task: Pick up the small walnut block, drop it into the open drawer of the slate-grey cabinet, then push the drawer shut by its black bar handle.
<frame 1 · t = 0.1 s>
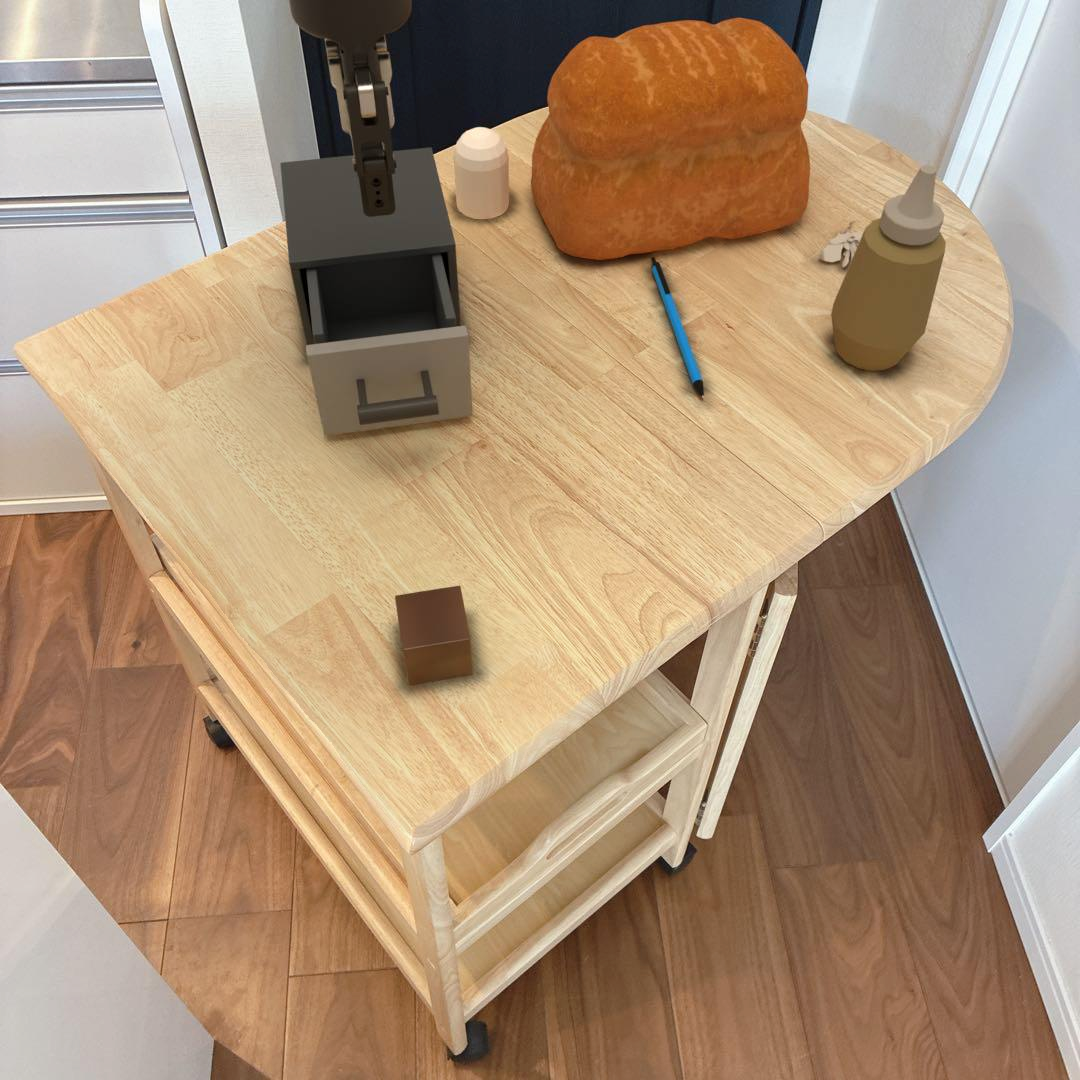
hand: (373, 178, 76), 20 cm above the table, tool pointing down, fingers open, 8 cm apart
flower: (857, 264, 102), on the table
drawer: (387, 349, 86), point 5 cm above the table, slide at 9.0 cm
white domed cylinder: (482, 205, 107), on the table
cabinet: (377, 299, 98), on the table
pen: (675, 329, 96), on the table
squeeze bottle: (867, 351, 94), on the table
bread: (664, 209, 107), on the table
block: (436, 652, 74), on the table
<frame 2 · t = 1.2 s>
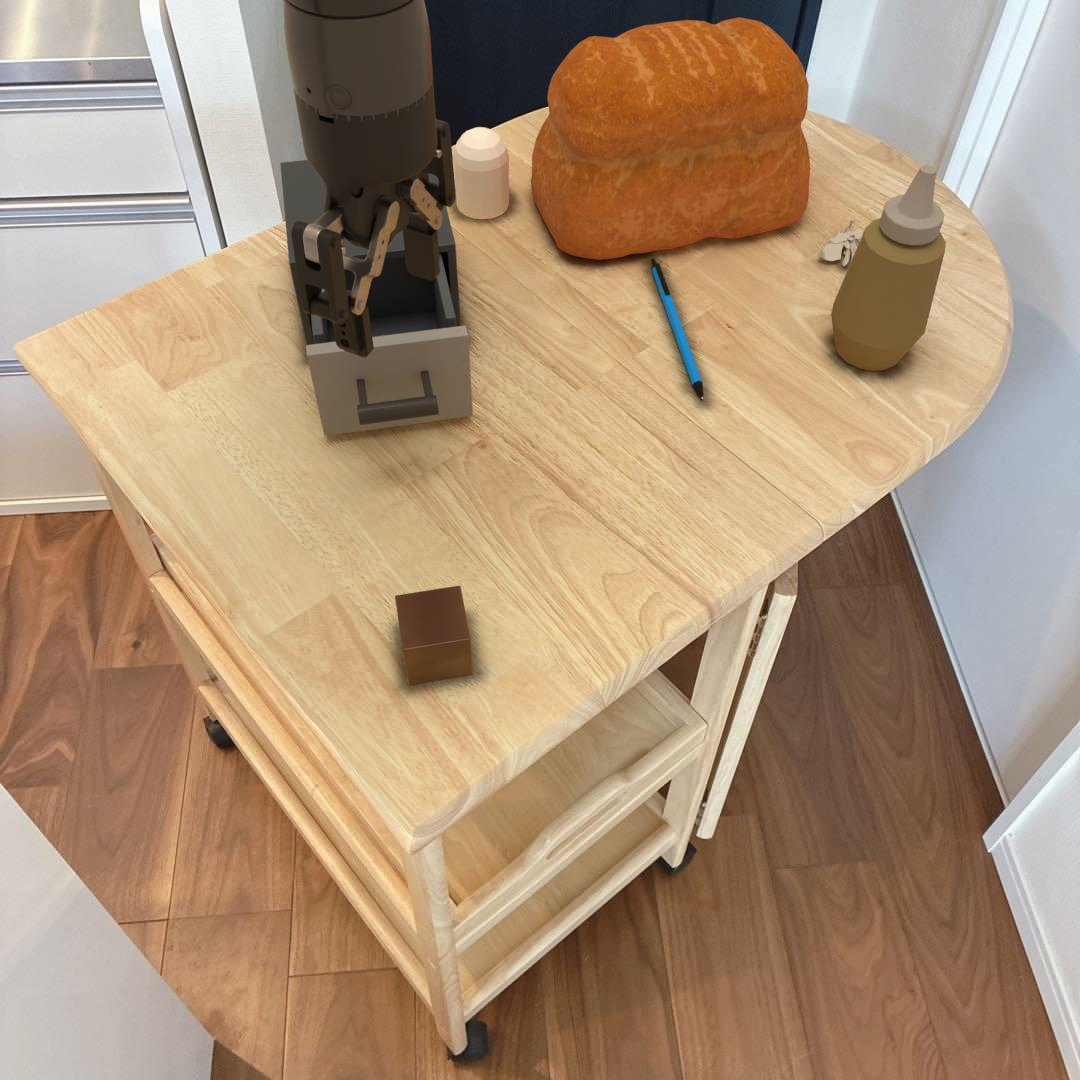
hand: (391, 311, 69), 18 cm above the table, tool pointing down, fingers open, 8 cm apart
nothing on the table moved.
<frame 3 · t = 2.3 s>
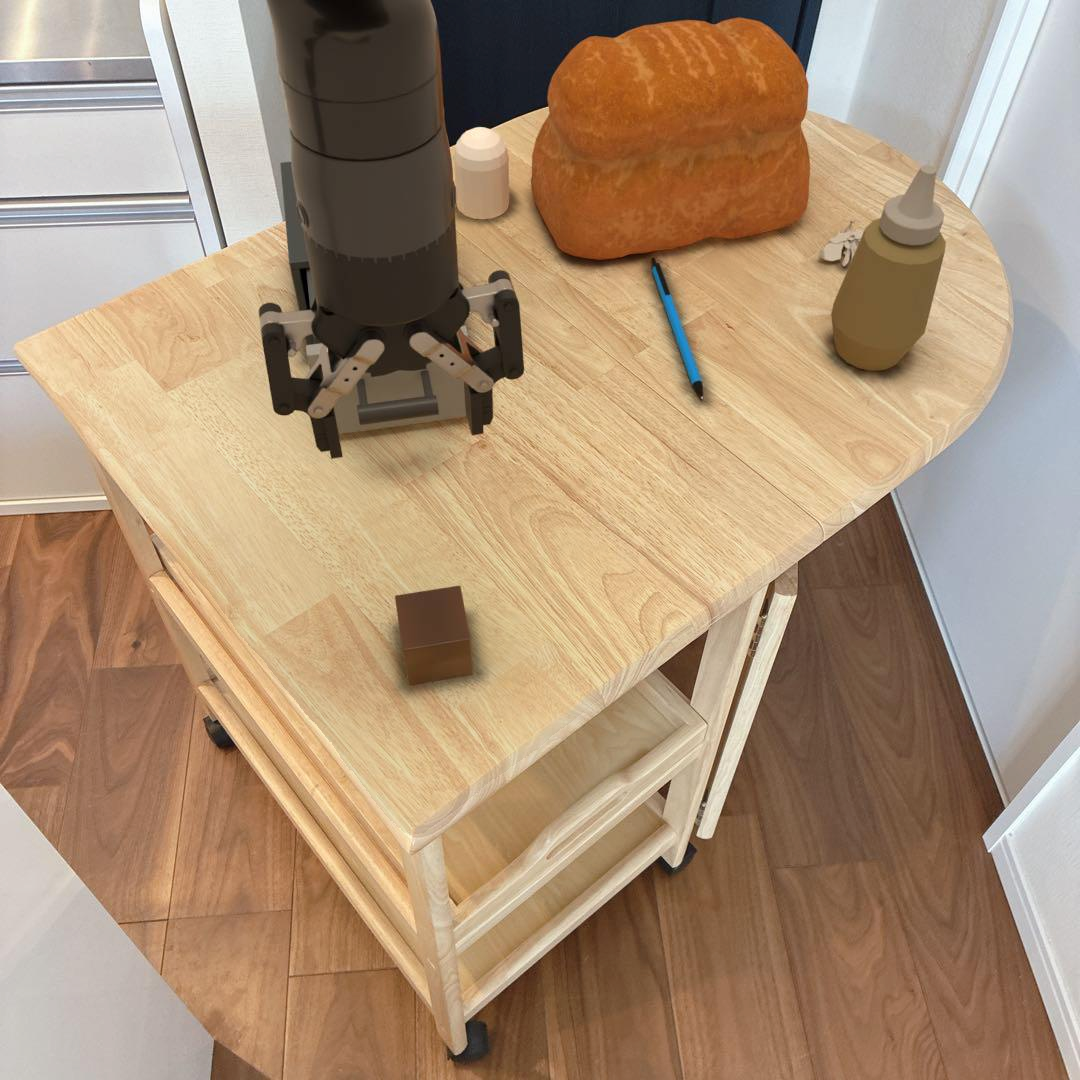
hand: (405, 436, 64), 16 cm above the table, tool pointing down, fingers open, 8 cm apart
nothing on the table moved.
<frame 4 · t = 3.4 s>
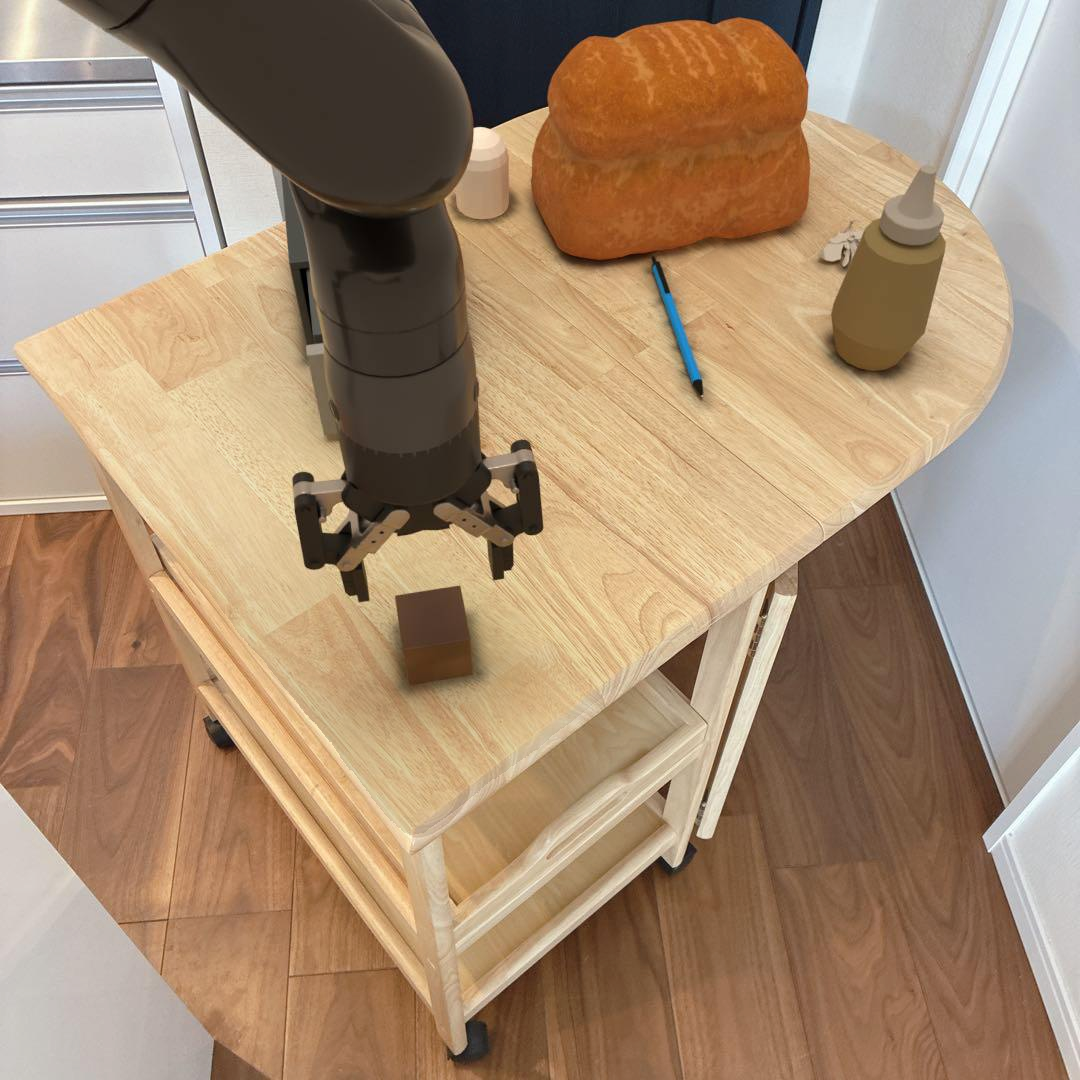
hand: (429, 579, 67), 9 cm above the table, tool pointing down, fingers open, 8 cm apart
nothing on the table moved.
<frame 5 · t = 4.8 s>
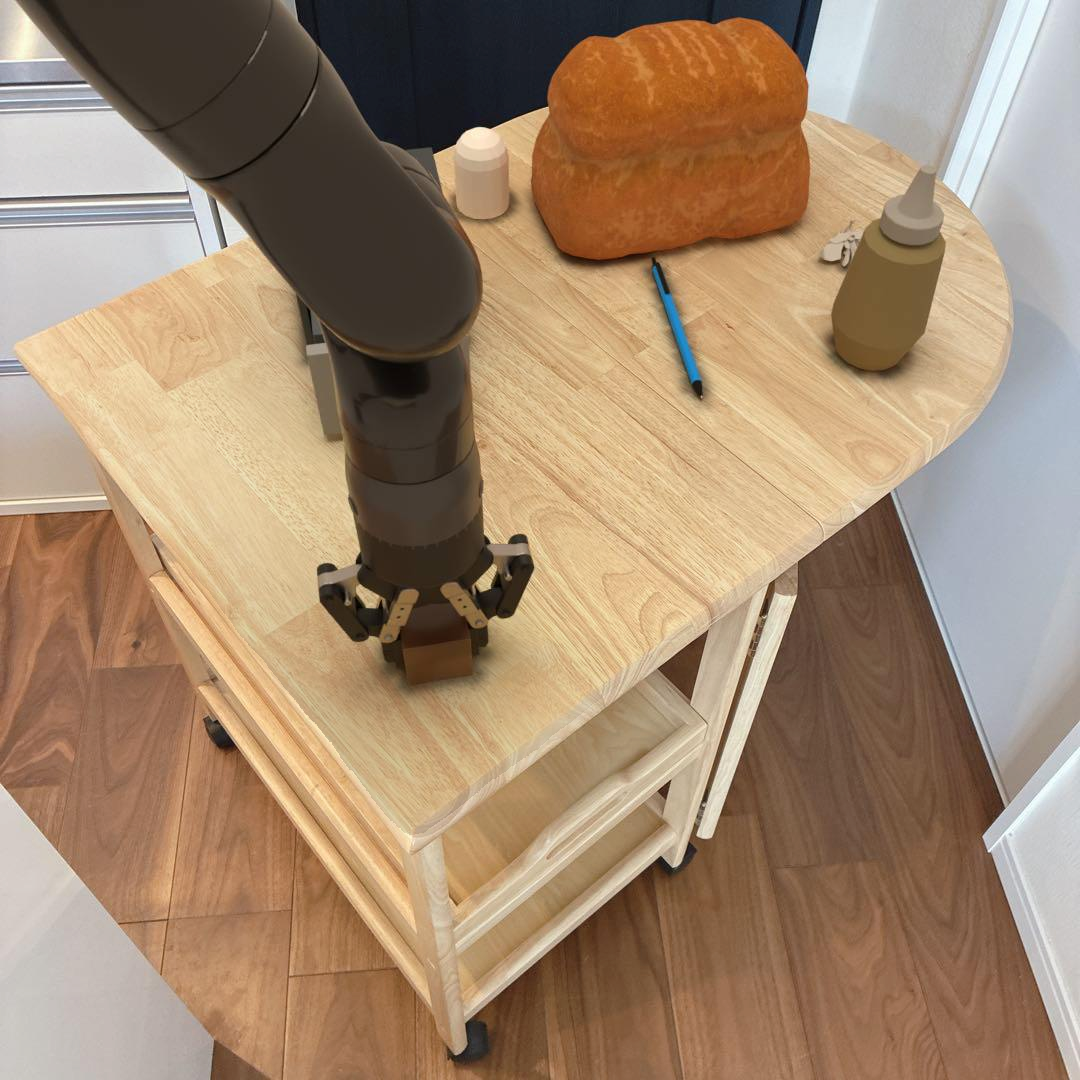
hand: (435, 650, 74), 0 cm above the table, tool pointing down, fingers closed on block, 4 cm apart
block: (436, 652, 74), on the table, touching gripper
everything else where it was.
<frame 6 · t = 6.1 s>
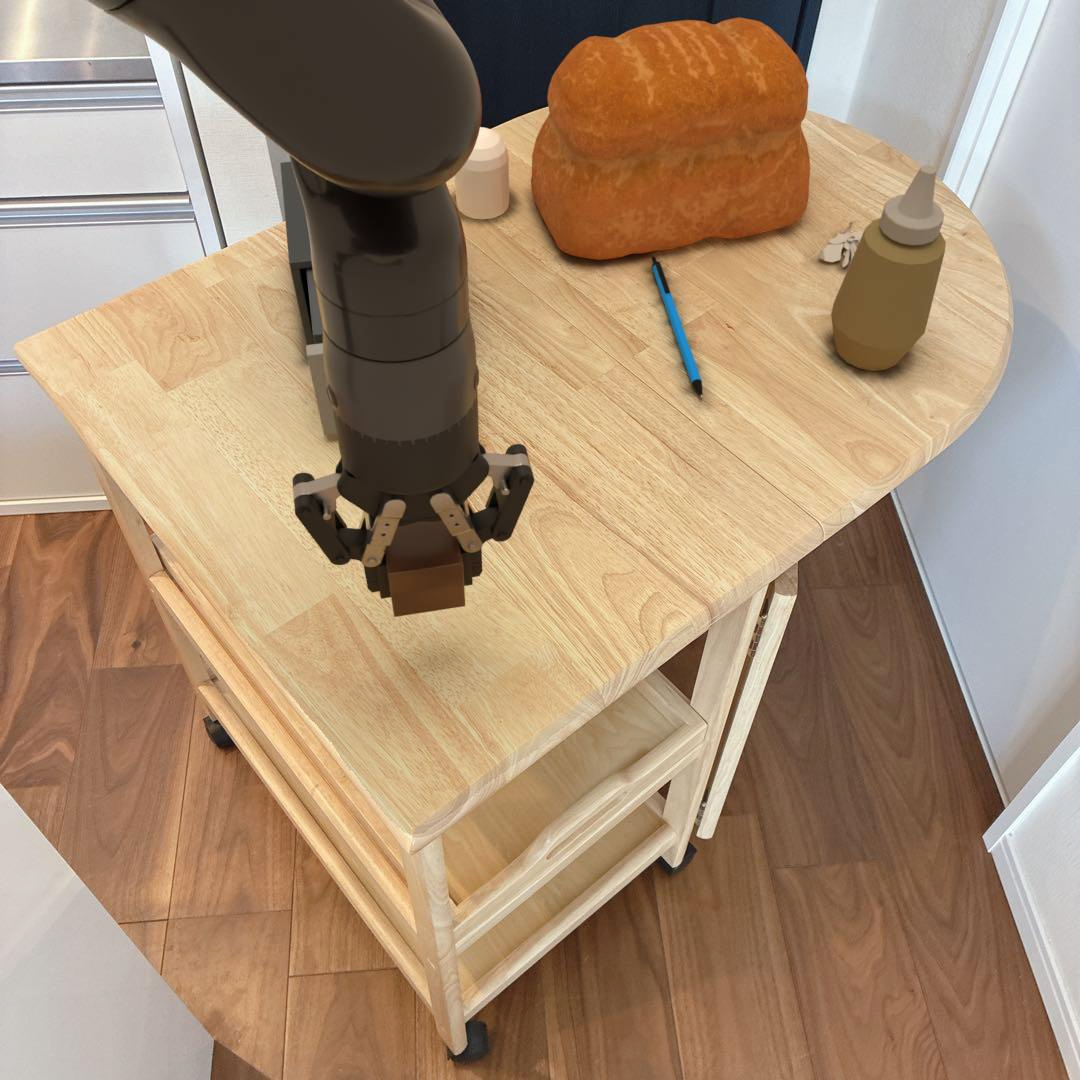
hand: (424, 580, 67), 9 cm above the table, tool pointing down, fingers closed on block, 4 cm apart
block: (425, 583, 67), point 8 cm above the table, touching gripper
everything else where it was.
when the fingers open (8 cm above the table, at t = 12.0 s): block drops 6 cm, resting on drawer.
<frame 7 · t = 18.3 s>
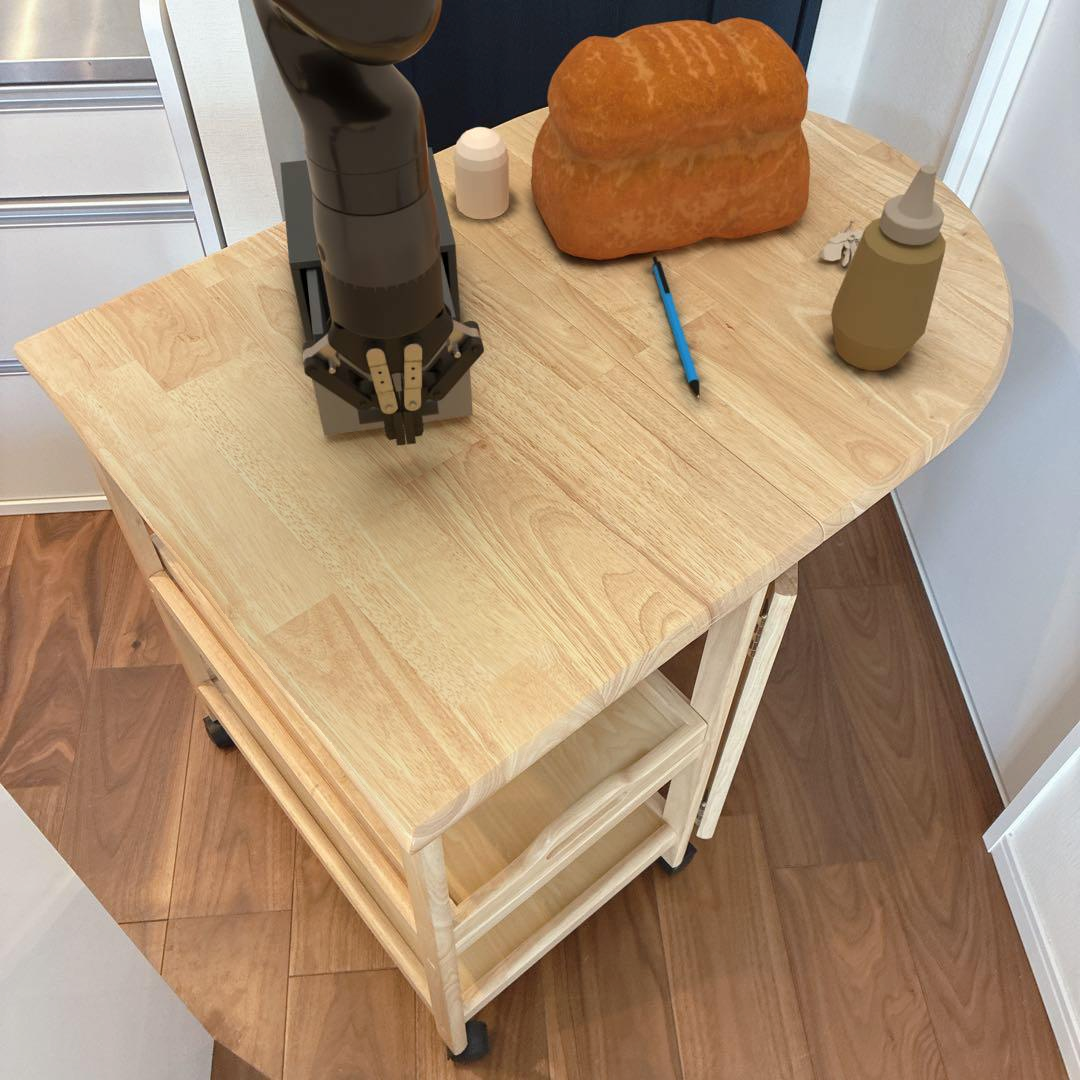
hand: (404, 436, 80), 5 cm above the table, tool pointing down, fingers closed
drawer: (387, 348, 86), point 5 cm above the table, slide at 8.9 cm, touching block, gripper
block: (390, 371, 89), point 2 cm above the table, touching drawer
everything else where it was.
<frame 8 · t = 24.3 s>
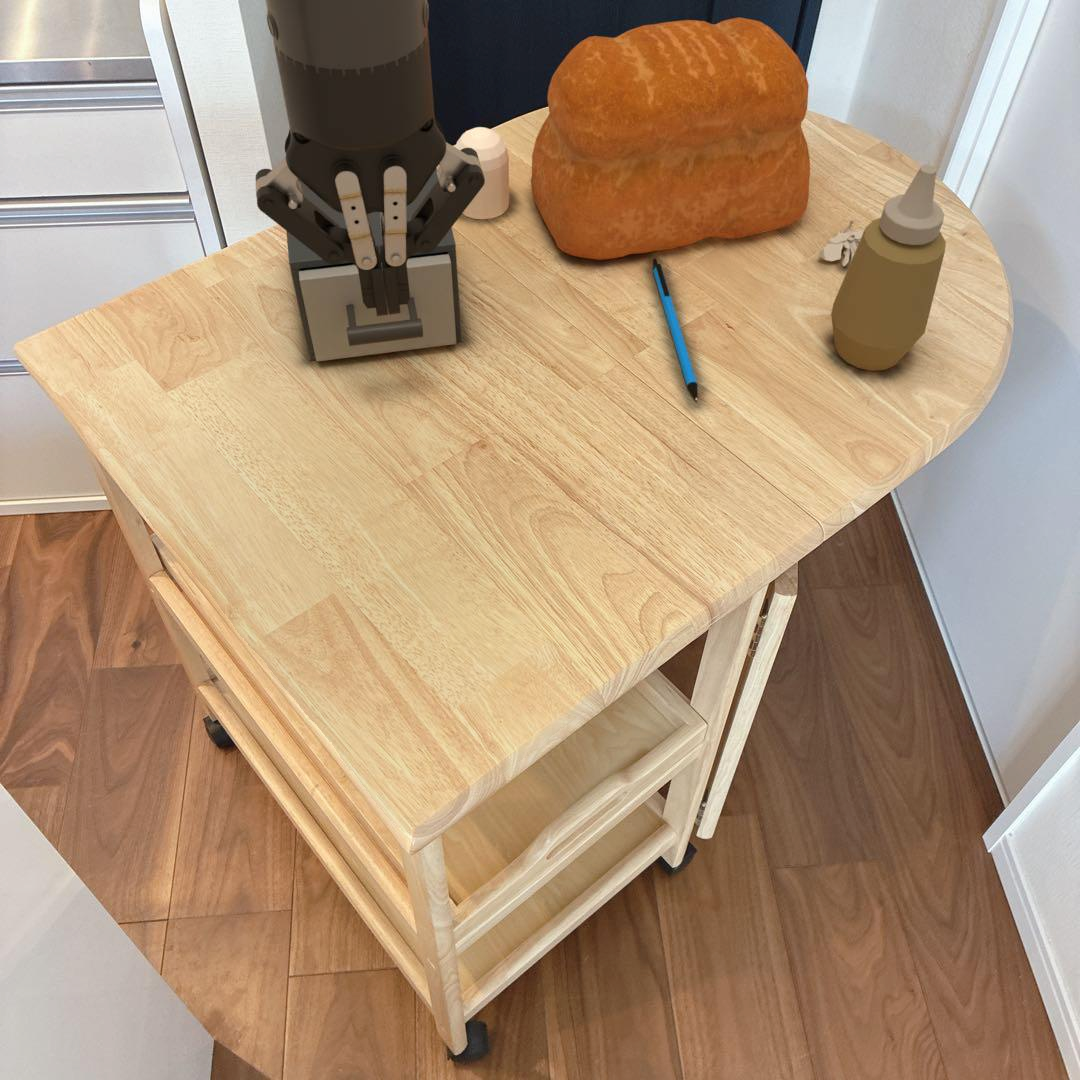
hand: (386, 306, 65), 21 cm above the table, tool pointing down, fingers closed
drawer: (376, 279, 91), point 5 cm above the table, slide at 0.0 cm, touching block, cabinet
block: (379, 304, 94), point 2 cm above the table, touching drawer
everything else where it was.
at the end: block inside the target area in the cabinet (2.2 cm from its centre), point 1.9 cm above the cabinet's base; drawer slide at 0.0 cm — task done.
